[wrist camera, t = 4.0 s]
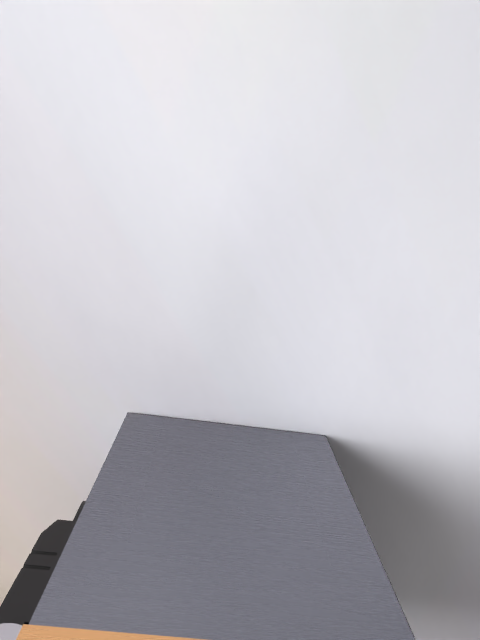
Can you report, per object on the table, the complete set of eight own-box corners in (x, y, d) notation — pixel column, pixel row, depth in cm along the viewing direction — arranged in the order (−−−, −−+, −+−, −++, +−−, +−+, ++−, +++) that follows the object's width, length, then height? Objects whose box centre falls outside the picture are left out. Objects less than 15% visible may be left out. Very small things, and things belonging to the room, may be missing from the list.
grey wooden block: (126, 411, 12) (6, 660, 6) (327, 434, 13) (445, 694, 6) (110, 580, 14) (-2, 945, 7) (293, 597, 14) (356, 959, 7)
